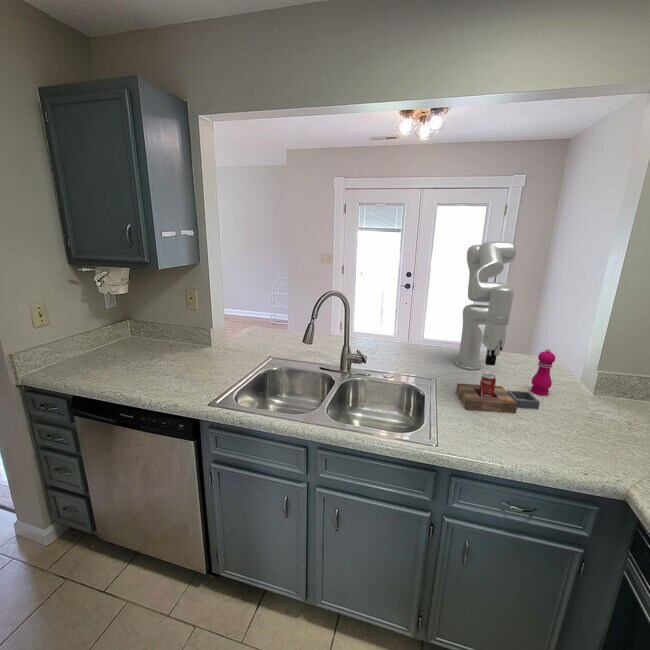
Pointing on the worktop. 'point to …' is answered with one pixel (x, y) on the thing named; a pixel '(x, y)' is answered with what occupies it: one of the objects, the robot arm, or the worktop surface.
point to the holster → (528, 403)
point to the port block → (486, 399)
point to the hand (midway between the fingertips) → (489, 364)
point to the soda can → (487, 385)
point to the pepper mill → (543, 373)
